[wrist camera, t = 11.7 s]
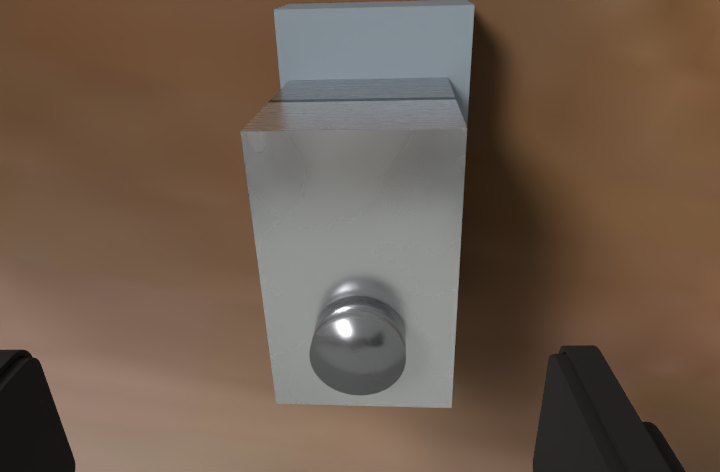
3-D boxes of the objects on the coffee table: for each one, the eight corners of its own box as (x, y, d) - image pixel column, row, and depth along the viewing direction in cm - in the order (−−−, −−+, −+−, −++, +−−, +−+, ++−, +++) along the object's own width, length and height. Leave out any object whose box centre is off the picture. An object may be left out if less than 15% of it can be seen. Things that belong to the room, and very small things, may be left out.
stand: (311, 298, 24) (302, 333, 22) (288, 3, 19) (274, 9, 17) (449, 301, 24) (454, 336, 22) (465, -1, 18) (474, 4, 16)
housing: (289, 80, 18) (228, 144, 11) (447, 77, 17) (472, 142, 11) (307, 293, 21) (268, 430, 15) (439, 294, 21) (454, 435, 15)
